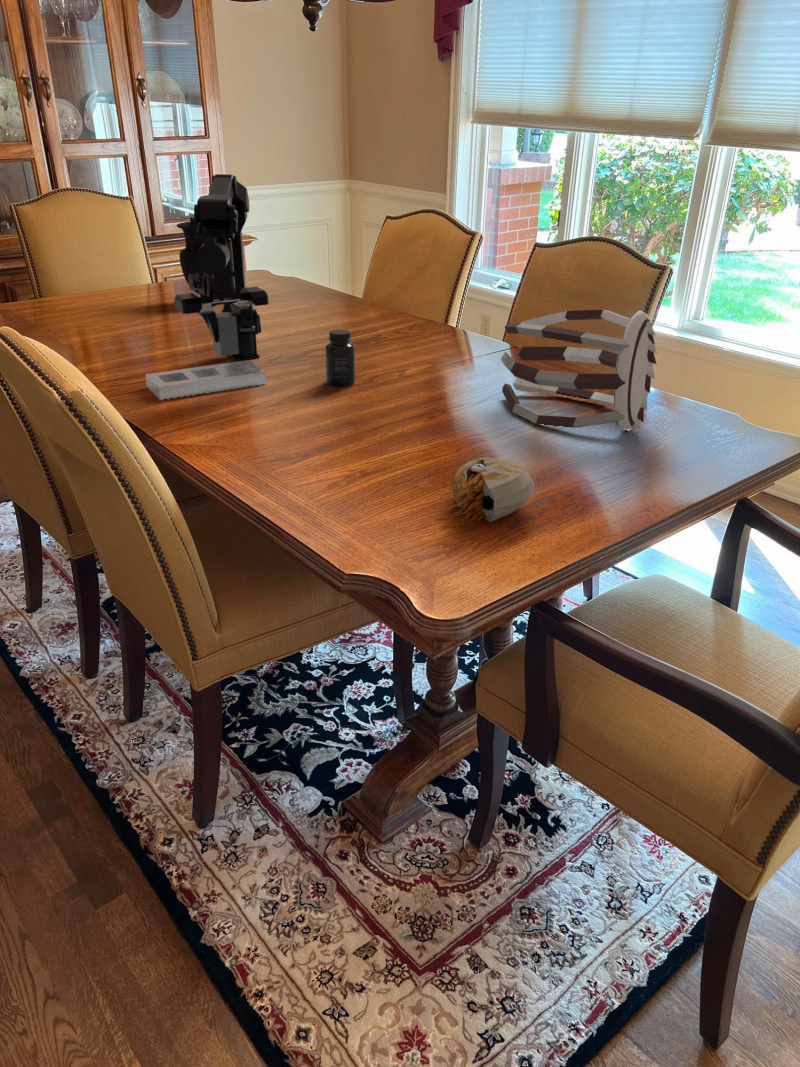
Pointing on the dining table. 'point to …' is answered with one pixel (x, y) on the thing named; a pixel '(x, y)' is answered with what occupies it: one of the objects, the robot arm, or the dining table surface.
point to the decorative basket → (629, 362)
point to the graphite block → (226, 334)
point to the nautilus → (489, 489)
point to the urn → (190, 252)
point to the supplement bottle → (340, 359)
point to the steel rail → (205, 379)
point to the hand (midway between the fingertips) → (225, 340)
